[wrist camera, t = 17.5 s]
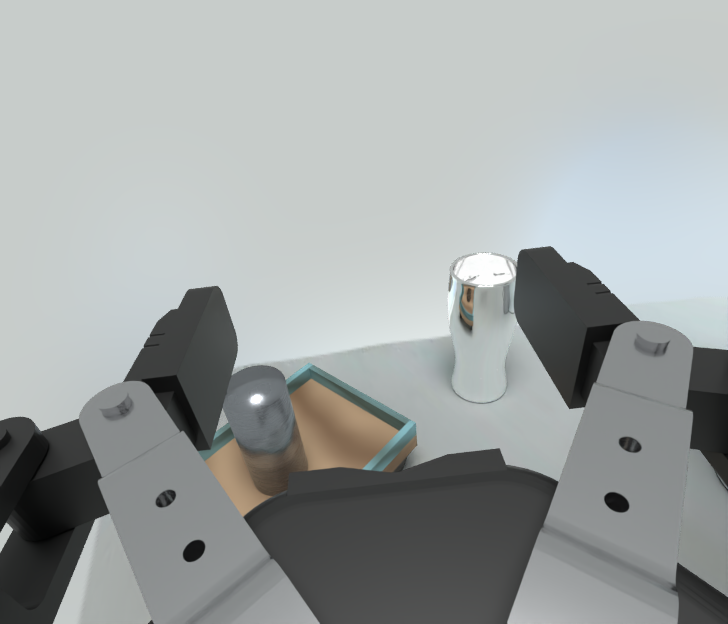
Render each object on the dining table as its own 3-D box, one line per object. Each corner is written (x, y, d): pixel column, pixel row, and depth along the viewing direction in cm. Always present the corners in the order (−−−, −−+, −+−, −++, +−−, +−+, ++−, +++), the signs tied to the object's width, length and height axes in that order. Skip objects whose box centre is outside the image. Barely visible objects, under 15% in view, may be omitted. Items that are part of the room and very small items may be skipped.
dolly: (318, 402, 51) (309, 362, 48) (418, 465, 43) (415, 422, 39) (154, 537, 39) (127, 497, 36) (248, 660, 31) (224, 623, 28)
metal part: (286, 438, 41) (261, 357, 35) (319, 468, 38) (298, 384, 32) (241, 472, 39) (207, 391, 33) (274, 507, 36) (242, 424, 30)
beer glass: (434, 382, 52) (432, 268, 43) (476, 355, 55) (482, 244, 46) (480, 416, 47) (488, 296, 38) (524, 385, 50) (539, 267, 41)
